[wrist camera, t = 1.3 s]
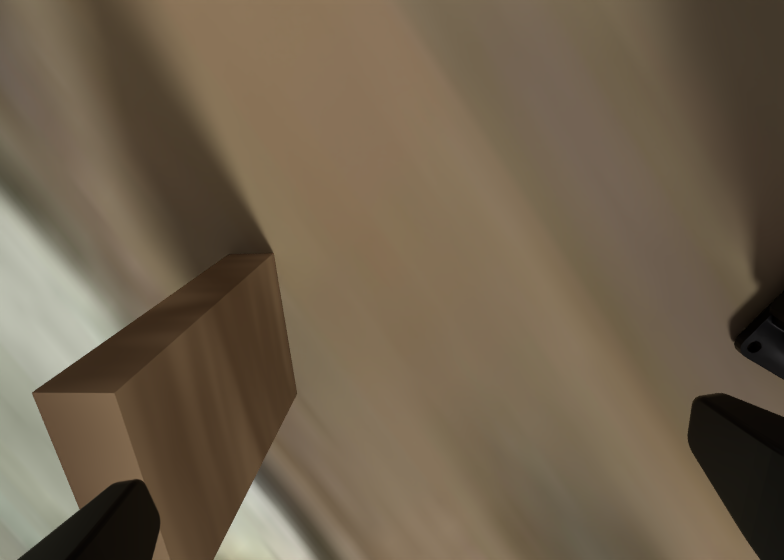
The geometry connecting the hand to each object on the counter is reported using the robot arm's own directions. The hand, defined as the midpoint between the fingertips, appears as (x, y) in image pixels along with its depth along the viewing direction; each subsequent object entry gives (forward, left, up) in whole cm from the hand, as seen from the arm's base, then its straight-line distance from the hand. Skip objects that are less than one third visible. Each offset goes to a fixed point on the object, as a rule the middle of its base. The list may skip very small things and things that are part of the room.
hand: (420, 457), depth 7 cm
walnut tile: (+5, +7, -12) cm, 15 cm away
